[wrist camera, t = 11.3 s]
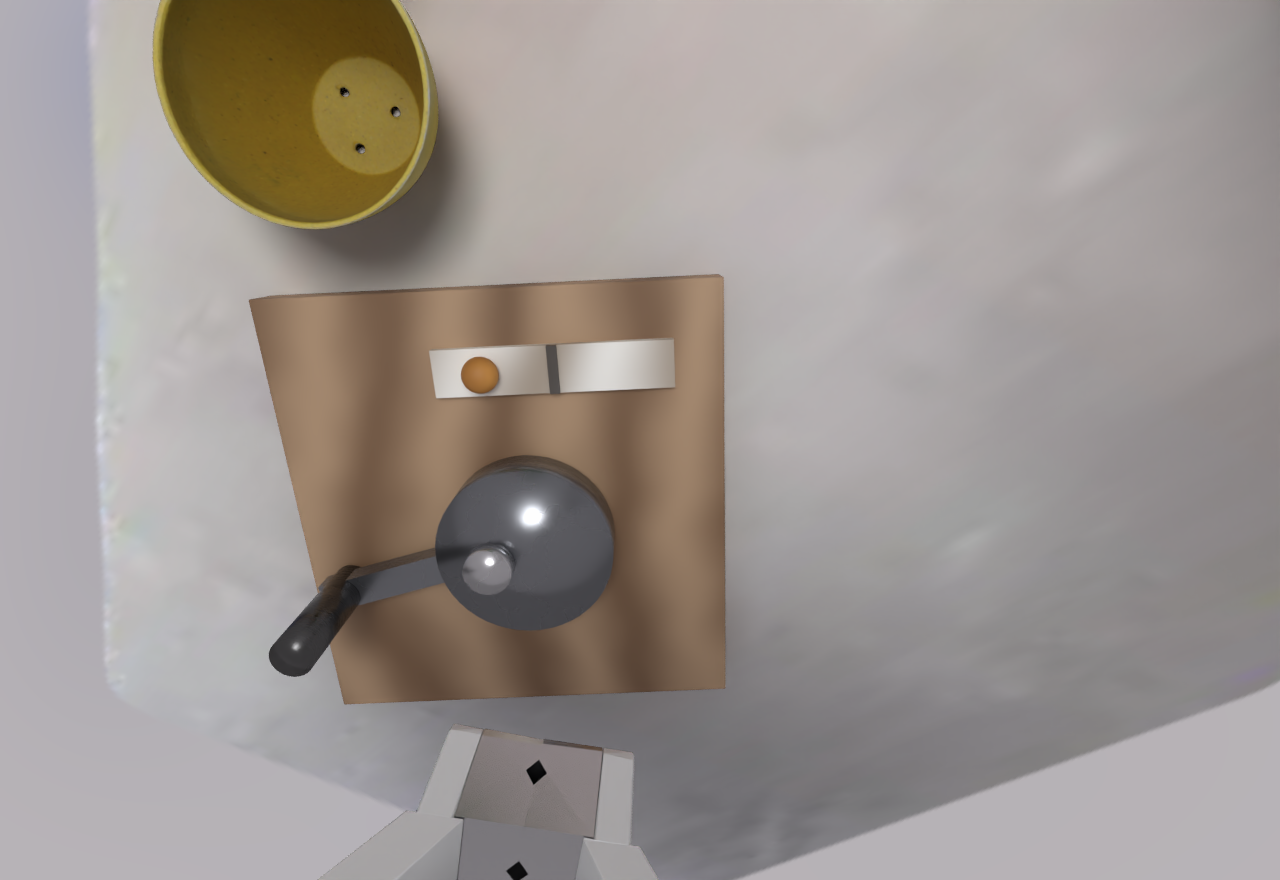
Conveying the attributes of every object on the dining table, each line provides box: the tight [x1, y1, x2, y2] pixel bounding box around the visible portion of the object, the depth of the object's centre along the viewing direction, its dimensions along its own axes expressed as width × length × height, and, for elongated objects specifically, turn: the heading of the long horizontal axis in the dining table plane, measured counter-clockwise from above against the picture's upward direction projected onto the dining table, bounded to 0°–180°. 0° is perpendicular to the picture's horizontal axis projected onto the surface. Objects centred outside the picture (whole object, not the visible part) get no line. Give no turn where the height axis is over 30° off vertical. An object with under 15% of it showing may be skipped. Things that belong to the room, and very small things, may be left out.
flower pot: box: [153, 0, 438, 229], centre depth 27 cm, size 10×10×7 cm
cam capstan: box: [269, 455, 615, 677], centre depth 32 cm, size 16×9×7 cm, turn 106°
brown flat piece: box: [249, 274, 725, 704], centre depth 34 cm, size 23×24×4 cm
